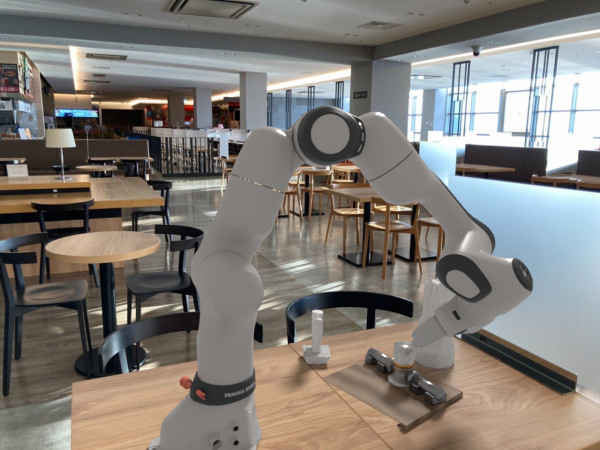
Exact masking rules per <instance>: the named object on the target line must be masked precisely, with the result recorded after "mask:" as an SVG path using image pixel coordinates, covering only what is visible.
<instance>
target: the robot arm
mask: <svg viewBox="0 0 600 450" xmlns="http://www.w3.org/2000/svg"><path fill="white" fill-rule="evenodd" d="M409 140H410V139H408V138H407V137H406V135H405V134H404V133H403V132H402V131H401V130H400V128H399V127H398V126H397V125H396V124H395V123H394V122H393V121H392V120H391V119H390V118H389V117H388V116H387V115H386V114H384V113H382V112H380V111H371V112H366V113H364V114H362V115H360V116H357V115H354V114H352V113H349V112H347V111H345V110H343V109H342V108H339V107H336V106H333V105H319V106H315V107H314V108H311V109H310V110H308V111H306V112H304V113H303V114H301V116H299V118H297V119H296V120H295V122H293V123H292V124H291V125H290V126H289V127H288V128H287V129H280V128H279V127H275V126H268V125H266V126H265V125H264V126H259V127H256V128H254V129H253V130H252V131H251V132H250V133H249V135H248V137H247V138H246V140H244V141H245V142H244V144H243V145H242V147H241V148H240V150H239V151H240V152H239V153H238V155H237V157H236V159H235V162H234V164H233V166H232V170H231V172H230V175H229V177H228V181H227V184H226V187H225V189H224V191H223V194H222V198H221V200H220V203H219V205H218V208H217V210H216V213H215V215H214V217H213V219H212V221H211V223H210V225H209V227H208V229H207V230H206V232H205V235H204V236H203V239H202V241H201V242H200V245H199V247H198V248H197V250H196V252H194V254H193V257H192V259H191V264H190V277H191V278H190V279H191V281H192V284H193V285H194V287H195V288H196V290H197V293H198V298H199V303H200V304H199V305H200V311H199V323H198V330H197V331H198V332H197V334H196V360H197V361H196V362H197V363H196V364H197V365H196V367H197V370H196V372H195V374H194V377H193V379H191V378H189V377H188V376H186V375H183V376H182V377H181V378H180V379H179V381H178V382H179V385H180V386H181V387H182V388H183V389H184V390H189V391H188V393H187V394H186V395H185V396H184V397H183V399H181V401H179V402H178V404H177V405H176V406H175V407H173V408H172V410H170V411H169V413H168V414H166V415H165V417H164V418H163V420H162V422H161V426H160V433H159V435H158V436H157V437H155V438H153V439H152V440H150V441H149V444H148V446H147V447H148V449H147V450H257V446H258V444H259V442H260V441H261V439H262V429H261V425H260V423H259V419H258V416H257V415H258V413H257V409H256V408H257V407H256V402H255V390H256V388H257V387H256V385H257V384H256V380H257V379H256V370H255V369H256V368H255V367H254V333H255V332H254V331H255V326H256V323H257V322H256V321H257V317H258V311H259V309H260V307H262V304H263V301H264V296H265V295H264V294H265V290H264V285H263V282H262V279H261V276H260V274H259V272H258V270H257V269H256V268H255V267H254V265H253V264H252V261H253V258H254V256H255V254H256V253H257V251H258V250H259V248H260V246H261V244H262V242H264V240H265V239H266V237H268V236H270V234H271V233H272V231H273V229H274V227H275V224H276V221H277V218H278V215H279V212H280V209H281V207H282V204H283V201H284V199H285V195H286V193H287V189H288V187H289V183H290V181H291V178H292V177H293V175H294V173H295V171H296V170H297V169H298V168H299V167H300V166H301V167H302V166H303V167H304V166H305V167H314V168H327V167H331V166H334V165H338V164H340V163H343V162H346V161H349V162H350V163H352V164H354V166H356V168H358V169H359V170H360V173H362V175H363V177H364V179H366V181H367V182H368V184H369V186H371V188H372V190H374V192H375V194H377V195H378V196H379V198H381V199H382V200H383V201H385V203H387V204H390V205H394V206H406V205H410V204H413V203H418V204H420V205H421V206H423V207H424V208H425V209H426V210H427V211H428V212H429V214H430V215H431V216H432V218H434V220H435V221H436V222H437V223H438V224H439V225H440V227H441V228H442V230H443V231H444V236H445V243H444V246H443V248H442V251H441V253H440V255H439V258H438V260H437V264H436V266H435V273H436V277H437V278H438V279H439V281H440V282H441V283H442V284H443V285H444V286H445V287H446V288H447V289H449V290H450V291H451V292H453V293H454V294H455V295H454V296H452V297H451V298H450V299H449V300H448V301H447V302H446V303H444V304H442V305H441V306H439V307H437V308H436V309H435V310H434V311H433V312H434V314H433V315H431V316H430V317H429V318H428V319H426V320H425V321H424V322H423V323H422V324H420V325H419V326H418V325H417V327H416V328H415V329H414V330H412V333H411V336H412V337H411V338H412V339H413V340H411V342H410V343H411V344H412V346H413V347H414V348H417V347H424V346H427V345H429V344H431V343H433V342H435V341H438V340H440V339H442V338H445V337H447V336H449V337H452V336H453V337H456V336H458V335H465V334H466V335H467V334H475V333H477V332H479V331H480V330H482V329H483V328H485V327H486V326H488V325H490V324H491V323H493V322H494V321H495V320H496V319H497V317H499V316H502V315H505V314H507V313H509V312H510V311H512V310H513V309H515V308H517V307H518V306H519V305H520V304H522V303H523V302H524V301H525V300H527V299H528V298H529V297H530V296H531V295H532V293H533V290H534V281H533V280H534V279H533V276H532V274H531V272H530V270H529V268H528V267H527V265H526V264H525V263H524V262H523V261H522V260H520V259H519V258H516V257H510V258H508V257H507V258H506V257H500V256H496V255H493V253H494V251H495V249H496V237H495V235H494V233H493V231H492V230H491V229H490V227H489V226H487V225H486V224H485V223H483V222H482V221H480V219H477V218H476V217H474V216H473V215H472V214H471V213H470V212H469V211H468V210H467V209H466V208H465V206H463V205H462V203H461V202H460V200H459V199H458V198H457V197H456V196H455V194H454V193H452V192H451V190H450V189H449V187H448V186H447V185H446V184H445V182H443V180H442V179H441V178H440V177H439V176H438V175H437V174H436V173H435V172H434V171H433V170H431V169H430V167H429V166H428V165H427V163H426V162H425V161H424V160H423V157H421V156H420V154H419V153H418V151H417V150H416V149H415V147H414V146H413V144H412V143H411V142H410V141H409Z"/></svg>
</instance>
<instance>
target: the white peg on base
mask: <svg viewBox="0 0 600 450" xmlns="http://www.w3.org/2000/svg"><path fill="white" fill-rule="evenodd" d="M323 316H324V311H323V310H320V309H313V310H312V311H311V344H302V353H303V358H304V360H305V363H306V364H307V365H327V364H328V363H329V361H330V359H331V358H332V355H331V351H330V345H329V344H322V338H323V333H324V331H323V330H324V328H323V326H324V325H323V324H324V323H323Z"/></svg>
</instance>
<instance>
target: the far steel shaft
mask: <svg viewBox="0 0 600 450" xmlns="http://www.w3.org/2000/svg"><path fill="white" fill-rule="evenodd" d="M364 360H365V363H367V364H368V365H370V366H373V365H376V364H377V371H379V372H380V373H382V374H385V373H393V357H389V356H388V355H386V354H385V353H383V352H381V351H380V350H378V349H376V348H374V347H369V349H368V350H367V352H366V354H365V357H364Z"/></svg>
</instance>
